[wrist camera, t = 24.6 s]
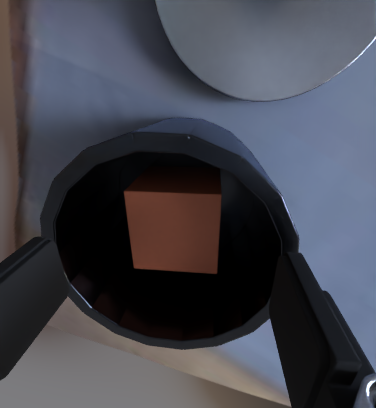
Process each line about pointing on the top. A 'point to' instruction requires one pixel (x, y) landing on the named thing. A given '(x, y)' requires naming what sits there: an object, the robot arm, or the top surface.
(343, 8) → the lid
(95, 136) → the top surface
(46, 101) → the top surface
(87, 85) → the top surface
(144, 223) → the block
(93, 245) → the pot
